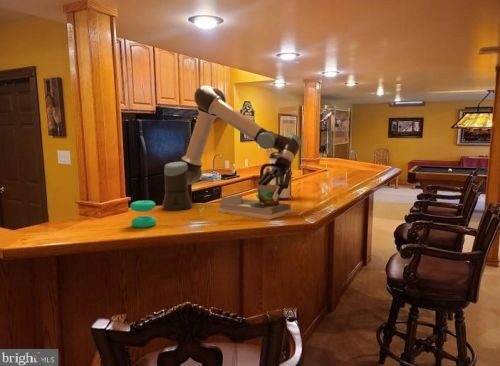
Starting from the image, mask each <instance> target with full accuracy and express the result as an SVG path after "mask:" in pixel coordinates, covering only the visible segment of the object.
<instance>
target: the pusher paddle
mask: <svg viewBox="0 0 500 366" xmlns="http://www.w3.org/2000/svg"><path fill="white" fill-rule="evenodd" d="M250 206H251V207H255V208H267V207H265V206H260V203H259V202H256V203H255V202H251V203H250Z"/></svg>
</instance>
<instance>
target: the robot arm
mask: <svg viewBox="0 0 500 366" xmlns="http://www.w3.org/2000/svg"><path fill="white" fill-rule="evenodd" d="M193 97H194V102H195V104H196V106H197V112H198V116H197V119H196V122H195V126H194V128H193V131H192V134H191V137H190V140H189V143H188V146H187V149H186V153H185V155H184V156H182V157H181V160H180V161H174V162H168V163H166V164H165V165H164V168H163V169H164V171H163V174H164V175H163V176H164V190H165V191H164V192H165V194H164V197H163V201H162V204H161V206H162V210H165V211H184V210H190V209H191V208H193V202H192V199H191V197H190V194H189V185H193V184H196V183H197V182H198V181H199V180H200V179H201V178H202V174H203V171H202V166H203V163H202V158H203V154H204V151H205V148H206V146H207V142H208V139H209V136H210V133H211V130H212V127H213V125H214V121H215V119H217V118H219V119H221V120H222V121H223V122H226V123H227V124H228V125H230V126H231V127H233V128H234V129H235V130H237V131H238V132H240V133H242V134H243V135H244V136H246V137H247V138H249V139H250V140H252V141H254V142H255V143H256V144H257V145H258V146H259V147H260V148H261V149H263V150H264V149H265V150H268V149H269V150H270V149H274V150H276V151H279V150H280V151H281V152H280V154H279V156H278V158H277V160H276V162H275V164H274V167H273V168H272V169H270V167H266V171H264V173H263V174H264V175H263V176H262V177H261V179H260V178H259V180H258V181H257V185H269V184H270V181H271V180H272V179H275V178H276V177H279V179H280V185H279V186H280V187H279V186H278V187H277V189H276V191H275V193H274V195H273V197H272V198H273V199H274V201H276V200H277V198H278V196H279V195H280V194H281V192H282V190H283V189H285V188H286V189H287V188H288V185H289V181H290V177H291V178H292V175H293V171H292V168H291V169H289V168H290V166H291V167H292V164H293V162H294V160H295V159H296V157H297V154H298V152H299V150H300V148H301V145H302V138H301V137H300V136H299V135H297V134H290V135H288V136H284V135H282V134H279V133H276V132H274V131H272V130H267V129H265V128H263V127H262V126H260V125H259V124H258V123H256V122H255V121H253V120H252V119H250V118H249V117H247V115H245V114H243V113H241V111H238V110H237V109H235V108H234V107H232V106H231V105H230V104H228V103H227V99H226V95H225V93H224V92H223V91H222V90H220V89H218V88H217V87H213V86H210V85H201V86H200V87H198V88H197V89H196V90H195V93H194V95H193ZM285 174H286V177H285V181H284V175H285ZM273 175H274V176H273ZM255 197H256V198H257V200H259V193H258V191H257V192H256V194H255Z"/></svg>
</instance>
